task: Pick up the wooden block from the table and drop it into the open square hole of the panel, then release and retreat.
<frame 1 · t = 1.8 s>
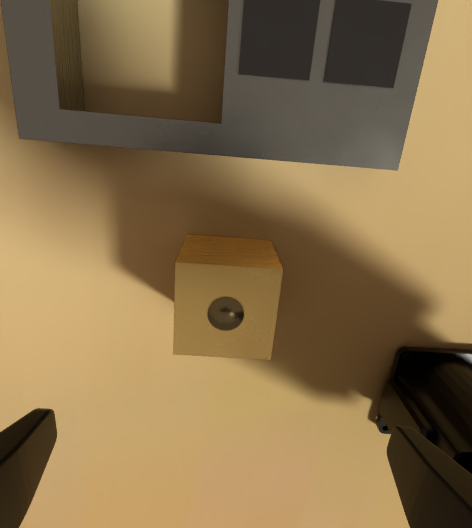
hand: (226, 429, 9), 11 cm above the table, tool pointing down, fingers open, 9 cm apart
panel: (221, 47, 15), on the table
wooden block: (226, 275, 19), on the table
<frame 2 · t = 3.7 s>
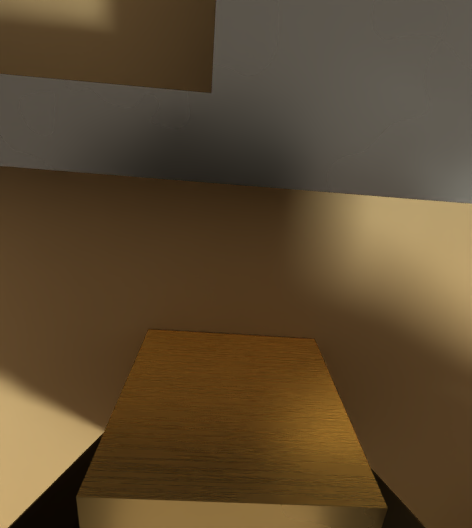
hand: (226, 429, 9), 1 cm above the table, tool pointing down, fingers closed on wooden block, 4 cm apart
wooden block: (226, 400, 10), on the table, touching gripper
when the fingers open (3 cm above the table, at t = 7.6 s): wooden block drops 2 cm, resting in panel.
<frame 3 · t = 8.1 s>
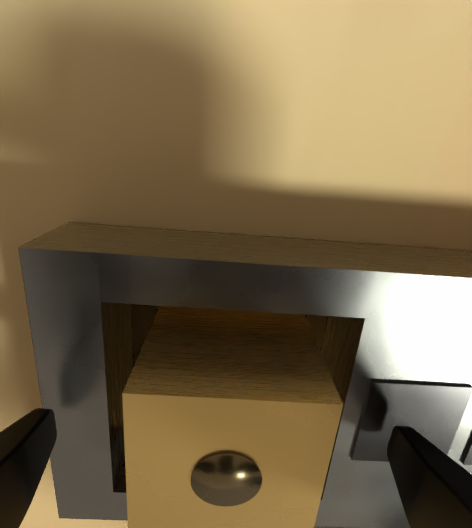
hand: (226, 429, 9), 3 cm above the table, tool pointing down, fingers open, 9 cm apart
panel: (311, 363, 12), on the table
wooden block: (227, 358, 12), resting in panel
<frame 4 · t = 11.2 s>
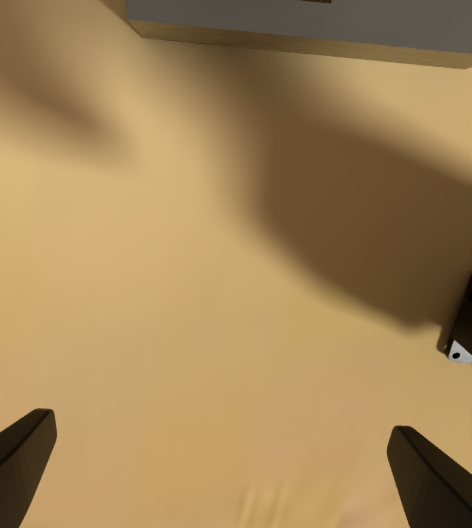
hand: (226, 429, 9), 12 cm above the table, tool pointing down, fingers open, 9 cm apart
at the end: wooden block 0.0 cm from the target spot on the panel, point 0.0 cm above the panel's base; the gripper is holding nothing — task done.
